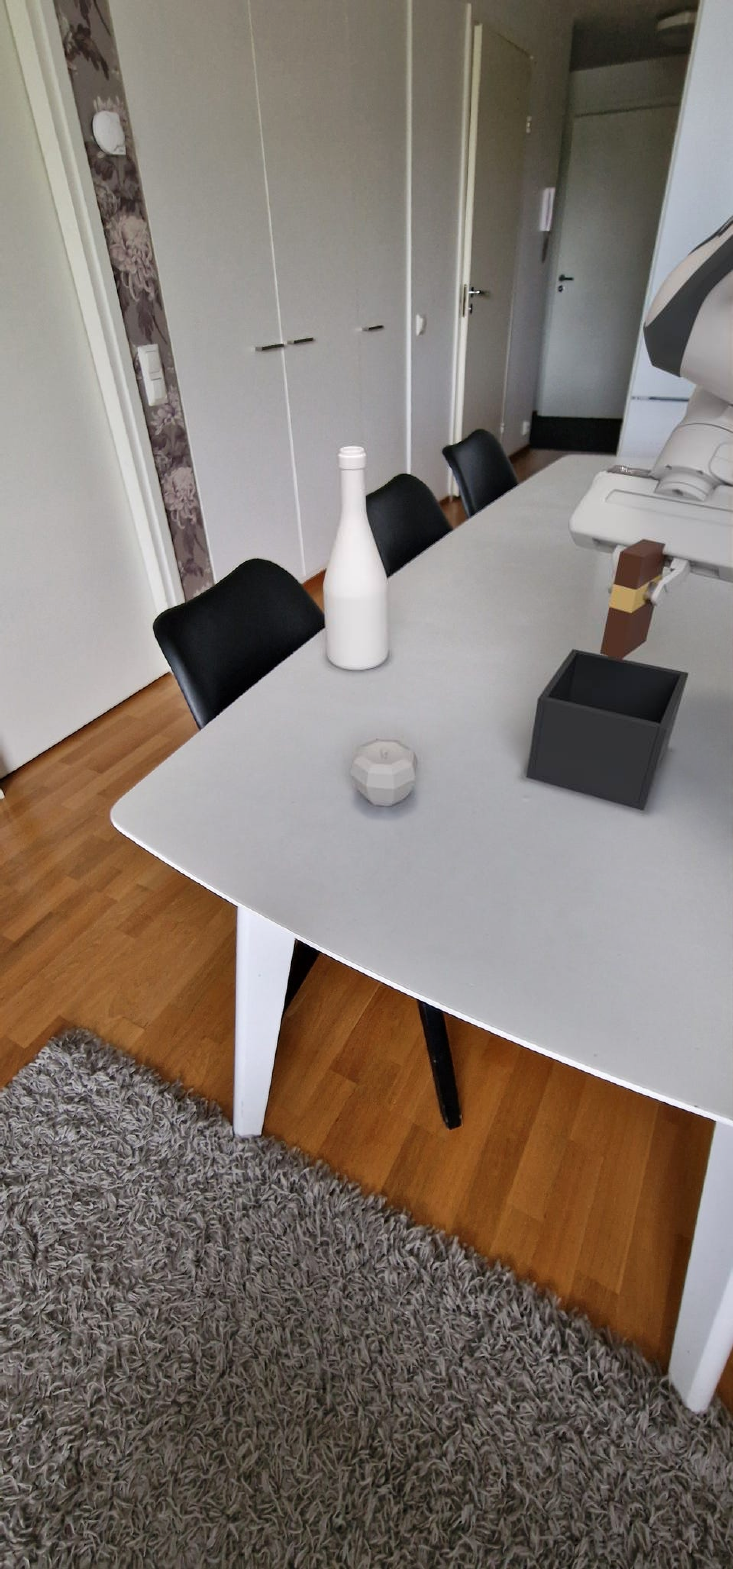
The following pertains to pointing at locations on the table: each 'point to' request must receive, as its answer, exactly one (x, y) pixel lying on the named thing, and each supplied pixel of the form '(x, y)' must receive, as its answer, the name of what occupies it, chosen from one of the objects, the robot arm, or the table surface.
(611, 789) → the waste bin
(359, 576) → the wine bottle
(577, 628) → the table surface
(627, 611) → the chocolate bar
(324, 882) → the table surface
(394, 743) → the apple
